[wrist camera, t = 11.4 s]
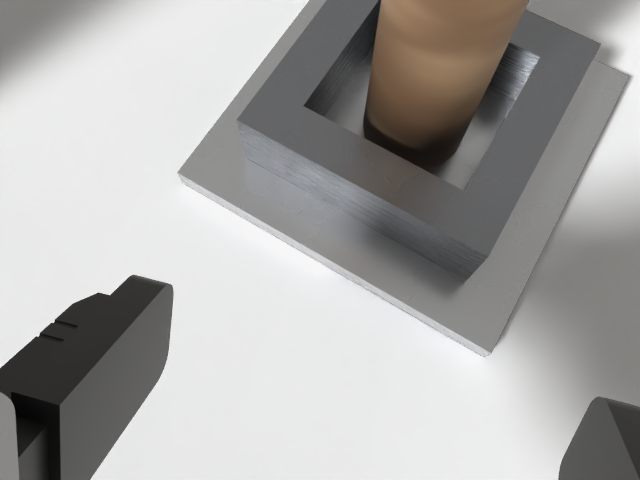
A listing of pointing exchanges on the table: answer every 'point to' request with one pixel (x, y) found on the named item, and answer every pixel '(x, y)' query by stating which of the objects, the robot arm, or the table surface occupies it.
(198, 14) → the table surface
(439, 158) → the pin
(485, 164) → the collar
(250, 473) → the table surface
